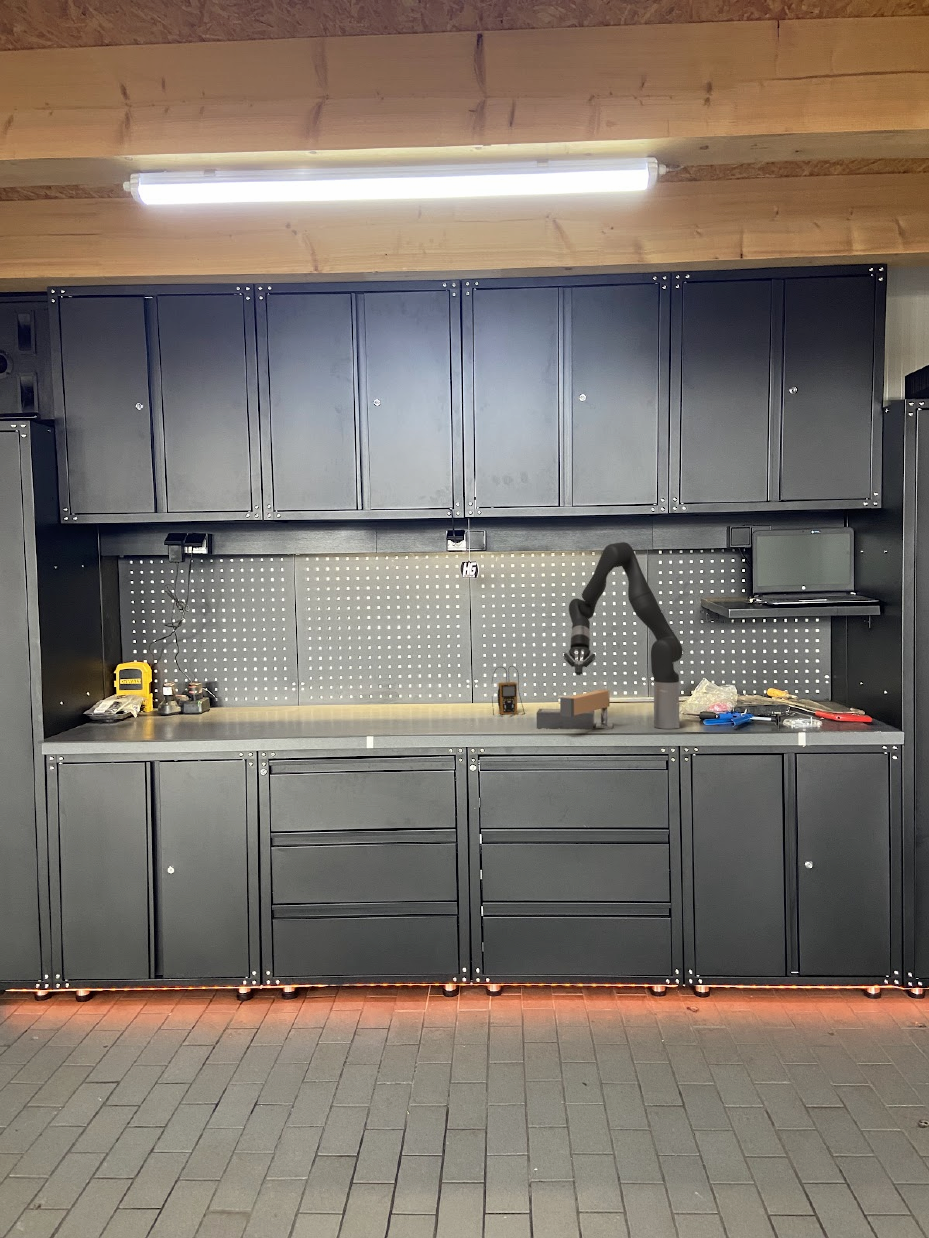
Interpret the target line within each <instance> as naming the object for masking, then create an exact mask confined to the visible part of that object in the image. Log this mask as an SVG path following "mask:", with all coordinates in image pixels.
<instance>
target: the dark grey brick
mask: <svg viewBox="0 0 929 1238" xmlns="http://www.w3.org/2000/svg"><path fill="white" fill-rule="evenodd" d="M593 727H595V710H594V711H590V712H586V713H582V714H578V715H574V716H573V717H566V716H560V708H539V709H538V710H537V711H536V729H542V728H546V729H548V728H549V730H550V729H552V730H594V728H593ZM556 728H557V729H556ZM558 728H560V729H558ZM542 730H543V729H542Z"/></svg>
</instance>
